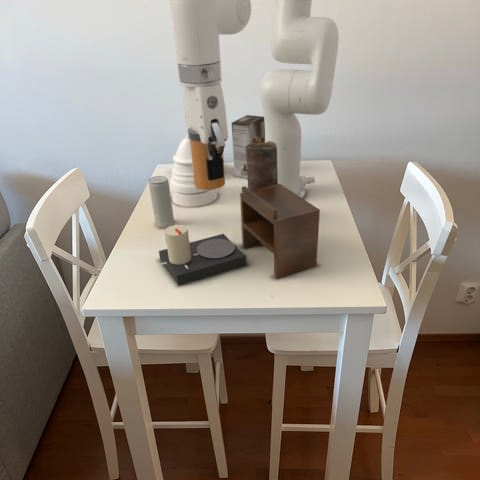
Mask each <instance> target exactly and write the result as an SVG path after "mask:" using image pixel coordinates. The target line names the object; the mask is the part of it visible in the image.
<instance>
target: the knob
mask: <svg viewBox="0 0 480 480" xmlns="http://www.w3.org/2000/svg"><path fill="white" fill-rule="evenodd" d="M164 237H165V244H166V249H167V250H168V256H169V261H170V262H171V263H172V264H176V265H181V264H185V263H188V262H189V261H190V260H191V252H190V244H189V243H190V239H189V229H188V227H187V226H186V225H183V224H173V225H172V226H169V227H167V228H164Z"/></svg>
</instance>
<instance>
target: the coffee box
mask: <svg viewBox="0 0 480 480" xmlns="http://www.w3.org/2000/svg"><path fill="white" fill-rule="evenodd" d="M231 136H232V137H231V138H232V139H231V140H232V152H233V154H232V155H233V170H234V177H237V178H242V179H243V178H245V179H248V176H247V161H246V146H247V145H248V144H250V143H265V124H264V116H260V115H250V114H246V115H245V116H242V117H240V118H238V119H236V120H235V121H232V122H231Z"/></svg>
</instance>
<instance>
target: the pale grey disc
mask: <svg viewBox="0 0 480 480" xmlns="http://www.w3.org/2000/svg"><path fill="white" fill-rule="evenodd" d="M229 240H230V239H229ZM229 240H225V239H212V240H207V241H205V242H203V243H201V244H200V245H199V246H198V247H197V253H198V254H199V255H200V256H201V257H204V258H207V259H220V258H224V257H227V256H229V255H231V254H232V253H233V252H234V251H235V246H236V244H235V243H234V242H233V241H232V240H230V241H229Z"/></svg>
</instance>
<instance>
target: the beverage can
mask: <svg viewBox="0 0 480 480" xmlns="http://www.w3.org/2000/svg"><path fill="white" fill-rule="evenodd" d="M148 188H149V193H150V199H151V205H152V210H153V216H154V222H155V225H156V226H157V227H158V228H161V229H166V228H167V227H169V226H173V225H174V223H175V217H174V216H175V215H174V211H173V210H174V209H173V203H172V195H171V188H170V181H169V180H168V177H167V176H165V175H156V176H152V177H150V178H149V179H148Z"/></svg>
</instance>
